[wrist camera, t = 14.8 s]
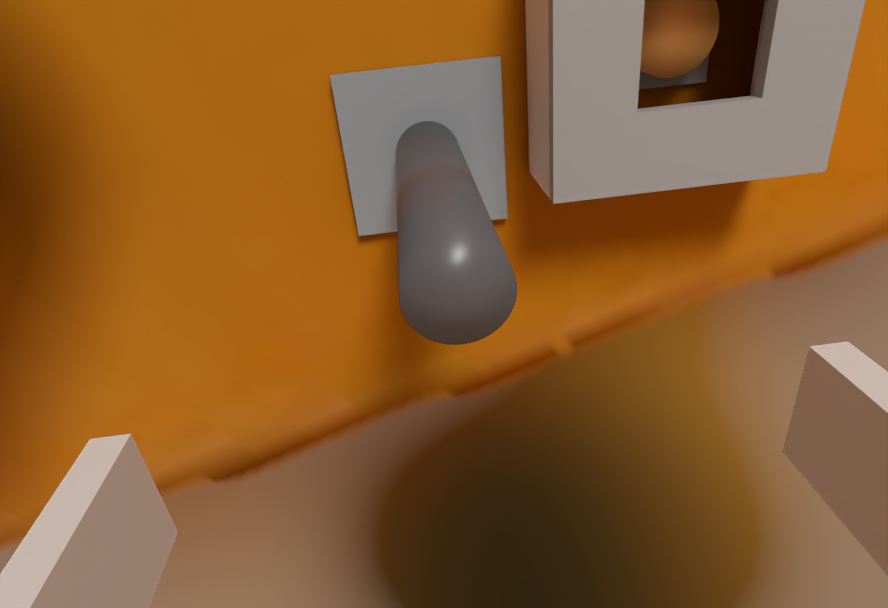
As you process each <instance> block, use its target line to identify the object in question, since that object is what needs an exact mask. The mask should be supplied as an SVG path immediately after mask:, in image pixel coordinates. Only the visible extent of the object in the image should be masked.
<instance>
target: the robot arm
mask: <svg viewBox="0 0 888 608" xmlns="http://www.w3.org/2000/svg"><path fill="white" fill-rule="evenodd" d="M782 452H783V453H784V454H785V455H786V456H787V458H788V459H789V460H790V461H791V462H792V464H793V465H794V466H795V467H796V468H797V470H798V471H799V472H800V473H801V474H802V475H803V477H805V479H806V480H807V481H808V482H809V484H810V485H811V486H812V487H813V488H814V490H815V491H816V492H817V493H818V494H819V495H820V496H821V498H822V499H823V500H824V501H825V502H826V504H827V505H828V506H829V507H830V508H831V510H832V511H833V512H834V513H835V514H836V515H837V517H838V518H839V519H840V520H841V521H842V522H843V524H844V525H845V526H846V527H847V528H848V530H849V531H850V532H851V533H852V534H853V535H854V537H855V538H856V539H857V540H858V541H859V543H860V544H861V545H862V546H863V547H864V548H865V550H866V551H867V552H868V553H869V554H870V555H871V557H872V558H873V559H874V560H875V561H876V563H877V564H878V565H879V566H880V567H881V568H882V569H883V571H884V572H885V573H886V574H887V575H888V372H887V371H886V370H884V369H883V368H882V367H880V366H879V365H878V364H876V363H875V362H874V361H873V360H871V359H870V358H869V357H867V356H866V355H865V354H863V353H862V352H861V351H859V350H858V349H857V348H856V347H854V346H853V345H852V344H850V343H849V342H841V343H833V344H826V345H818V346H811V347H809V351H808V355H807V359H806V363H805V367H804V370H803V374H802V378H801V382H800V386H799V390H798V394H797V398H796V401H795V405H794V409H793V413H792V417H791V421H790V424H789V429H788V432H787V436H786V440H785V444H784V448H783V451H782ZM177 533H178V532H177V529H176V527H175V525H174V523H173V521H172V519H171V517H170V515H169V513H168V511H167V508H166V506H165V504H164V502H163V500H162V498H161V496H160V494H159V492H158V489H157V487H156V485H155V483H154V481H153V479H152V477H151V475H150V473H149V471H148V468H147V466H146V464H145V462H144V460H143V458H142V456H141V454H140V452H139V450H138V447H137V445H136V443H135V441H134V439H133V437H132V435H131V434H126V435H118V436H110V437H102V438H95V439H90V440H89V441H88V443H87V444H86V446H85V447H84V449H83V450H82V452H81V453H80V455H79V456H78V458H77V459H76V461H75V462H74V464H73V465H72V467H71V468H70V470H69V471H68V473H67V475H66V476H65V478H64V479H63V481H62V482H61V484H60V485H59V487H58V488H57V490H56V491H55V493H54V494H53V496H52V497H51V499H50V500H49V502H48V503H47V505H46V506H45V508H44V509H43V511H42V512H41V514H40V515H39V517H38V518H37V520H36V521H35V523H34V524H33V526H32V527H31V529H30V530H29V532H28V533H27V535H26V536H25V538H24V539H23V541H22V542H21V544H20V545H19V547H18V548H17V550H16V551H15V553H14V554H13V556H12V557H11V559H10V560H9V562H8V563H7V565H6V566H5V568H4V569H3V571H2V572H1V574H0V608H149V606H150V603H151V600H152V598H153V595H154V593H155V590H156V587H157V585H158V582H159V580H160V577H161V574H162V572H163V570H164V567H165V564H166V562H167V559H168V557H169V554H170V552H171V549H172V546H173V544H174V541H175V539H176V536H177Z"/></svg>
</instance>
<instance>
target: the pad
mask: <svg viewBox="0 0 888 608" xmlns="http://www.w3.org/2000/svg"><path fill="white" fill-rule="evenodd" d="M330 79H331V85H332V91H333V96H334V102H335V107H336V113H337V118H338V124H339V129H340V135H341V140H342V146H343V152H344V157H345V163H346V168H347V174H348V179H349V185H350V190H351V196H352V201H353V207H354V212H355V218H356V224H357V229H358V235H359V236H364V235H372V234H381V233H389V232H397V184H396V147H397V143H398V141H399V139H400V137H401V135H402V134H403V133H404V131H405V130H406V129H408V128H409V127H410V126H412V125H414V124H416V123H419V122H423V121H433V122H437V123H440V124H442V125H444V126H446V127H447V128H448V129H449V130H450V131H451V132H452V133H453V134H454V135H455V137H456V139H457V141H458V144H459V146H460V148H461V151H462V153H463V155H464V158H465V160H466V162H467V165H468V167H469V169H470V172H471V174H472V176H473V179H474V181H475V183H476V186H477V188H478V190H479V193H480V195H481V197H482V200H483V202H484V204H485V207H486V209H487V211H488V214H489V216H490V218H491V220H498V219H506V218H508V215H507V193H506V170H505V147H504V124H503V101H502V79H501V57H500V56H494V57H485V58H476V59H467V60H458V61H449V62H441V63H432V64H423V65H414V66H405V67H396V68H387V69H378V70H370V71H361V72H352V73H343V74H334V75H331V76H330Z"/></svg>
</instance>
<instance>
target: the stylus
mask: <svg viewBox="0 0 888 608" xmlns="http://www.w3.org/2000/svg"><path fill="white" fill-rule="evenodd" d="M396 184H397V231H398V277H399V302H400V307H401V310H402V312H403V315H404V317H405V318H406V320H407V322H408V323H409V324H410V326H411V327H412V328H413V329H414V330H415V331H417V332H418V333H419V334H421V335H422V336H424V337H426V338H428V339H430V340H432V341H435V342H439V343H443V344H453V345H457V344H466V343H471V342H475V341H478V340H480V339H483V338H485V337H486V336H488V335H490V334H492V333H493V332H494V331H496V330H497V329H498V328H499V327H500V326H501V325H502V324H503V323H504V322H505V321H506V320H507V318H508V317H509V315H510V313H511V311H512V309H513V307H514V304H515V301H516V296H517V283H516V278H515V274H514V272H513V270H512V267H511V265H510V263H509V260H508V258H507V256H506V253H505V251H504V249H503V246H502V244H501V242H500V239H499V237H498V235H497V232H496V230H495V228H494V225H493V223H492V221H491V218H490V216H489V214H488V211H487V209H486V207H485V204H484V202H483V200H482V197H481V195H480V193H479V190H478V188H477V186H476V183H475V181H474V179H473V176H472V174H471V172H470V169H469V167H468V165H467V162H466V160H465V158H464V155H463V153H462V151H461V148H460V146H459V144H458V141H457V139H456V137H455V135H454V134H453V133H452V132H451V131H450V130H449V129H448V128H447V127H446V126H444V125H442V124H440V123H437V122H433V121H423V122H419V123H416V124H414V125H412V126H410V127H409V128H408V129H406V130H405V131H404V133H403V134H402V135H401V137H400V139H399V141H398V143H397V147H396Z"/></svg>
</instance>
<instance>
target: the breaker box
mask: <svg viewBox="0 0 888 608" xmlns="http://www.w3.org/2000/svg"><path fill="white" fill-rule="evenodd" d="M644 4H645V0H525V14H526V56H527V99H528V142H529V172H530V174H531V175H532V176H533V178H534V179H535V180H536V182H537V183H538V184H539V185H540V187H541V188H542V189H543V191H544V192H545V193H546V195H547V196H548V197H549V199H550V200H551V201H552V203H553V204H557V203H565V202H573V201H582V200H590V199H599V198H607V197H615V196H624V195H632V194H641V193H649V192H657V191H666V190H674V189H683V188H691V187H699V186H708V185H716V184H724V183H733V182H741V181H750V180H758V179H766V178H775V177H783V176H792V175H800V174H808V173H817V172H825V171H826V168H827V164H828V159H829V155H830V151H831V146H832V142H833V138H834V133H835V129H836V125H837V120H838V116H839V112H840V107H841V103H842V99H843V95H844V90H845V86H846V82H847V77H848V73H849V69H850V64H851V60H852V56H853V51H854V47H855V43H856V39H857V34H858V30H859V26H860V21H861V17H862V13H863V8H864V4H865V0H764V6H763V13H762V19H761V25H760V32H759V38H758V45H757V51H756V57H755V64H754V70H753V77H752V83H751V90H750V96H744V97H735V98H727V99H718V100H709V101H701V102H692V103H683V104H675V105H666V106H657V107H649V108H640V109H638V95H639V90H640V89H649V88H658V87H667V86H675V85H684V84H693V83H701V82H706V81H707V72H708V64H709V56H710V52H709V54H708V55H707V57H706V58H705V59H704V60H703V61H702V62H701V63H700V64H699V65H698V66H697V67H696V68H694V69H693V70H691V71H690V72H688V73H686V74H684V75H681V76H678V77H674V78H660V77H656V76H653V75H650V74H647V73H644V72H641V71H640V65H641V50H642V34H643V19H644Z"/></svg>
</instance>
